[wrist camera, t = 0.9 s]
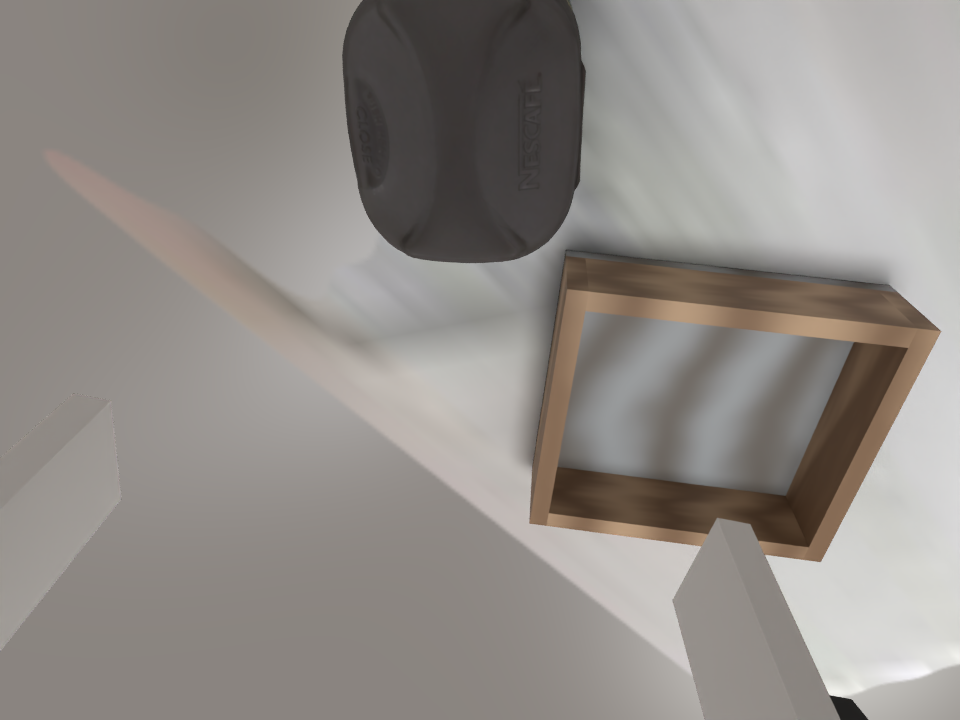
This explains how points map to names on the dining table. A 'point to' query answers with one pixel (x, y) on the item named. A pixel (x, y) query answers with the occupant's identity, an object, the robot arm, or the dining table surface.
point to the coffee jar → (465, 123)
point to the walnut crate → (717, 400)
